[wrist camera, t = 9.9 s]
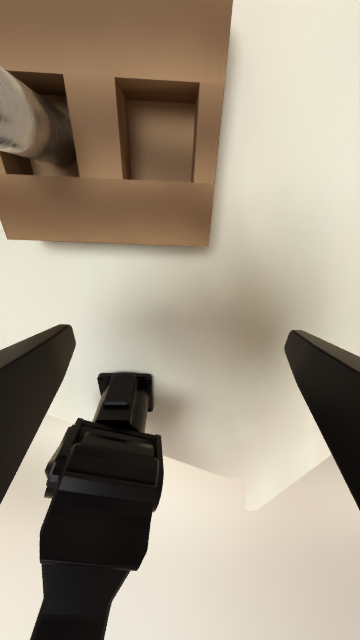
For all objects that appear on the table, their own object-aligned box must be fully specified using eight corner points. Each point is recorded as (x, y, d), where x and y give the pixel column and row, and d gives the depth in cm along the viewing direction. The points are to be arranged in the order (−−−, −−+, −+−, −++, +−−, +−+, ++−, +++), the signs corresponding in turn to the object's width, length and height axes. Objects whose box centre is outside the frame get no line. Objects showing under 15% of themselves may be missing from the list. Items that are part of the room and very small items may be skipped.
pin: (84, 168, 15) (10, 145, 8) (40, 165, 15) (-71, 139, 8) (76, 111, 14) (-22, 26, 7) (28, 107, 14) (-121, 17, 7)
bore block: (202, 238, 18) (208, 246, 15) (35, 231, 18) (7, 239, 15) (221, 17, 12) (237, -41, 9) (-30, -1, 12) (-101, -69, 9)
